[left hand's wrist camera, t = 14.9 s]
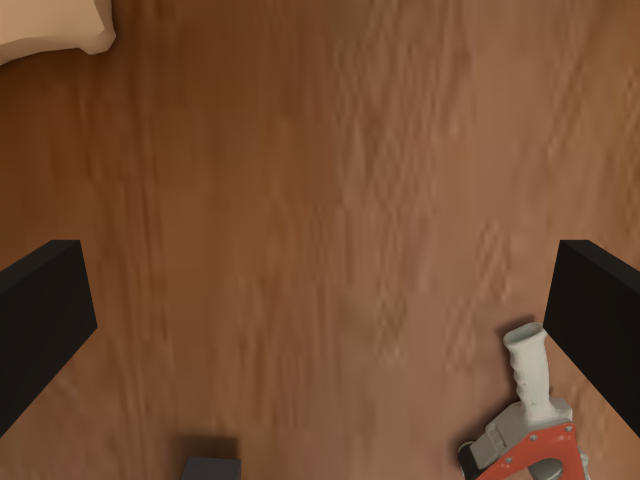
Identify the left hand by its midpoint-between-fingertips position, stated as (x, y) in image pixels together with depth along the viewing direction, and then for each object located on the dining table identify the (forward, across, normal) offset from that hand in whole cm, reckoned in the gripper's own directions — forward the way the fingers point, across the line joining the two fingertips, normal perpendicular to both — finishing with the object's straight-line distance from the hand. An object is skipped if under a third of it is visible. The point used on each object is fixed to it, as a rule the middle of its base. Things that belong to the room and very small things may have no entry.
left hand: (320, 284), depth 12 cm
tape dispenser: (+28, +22, -29) cm, 46 cm away
